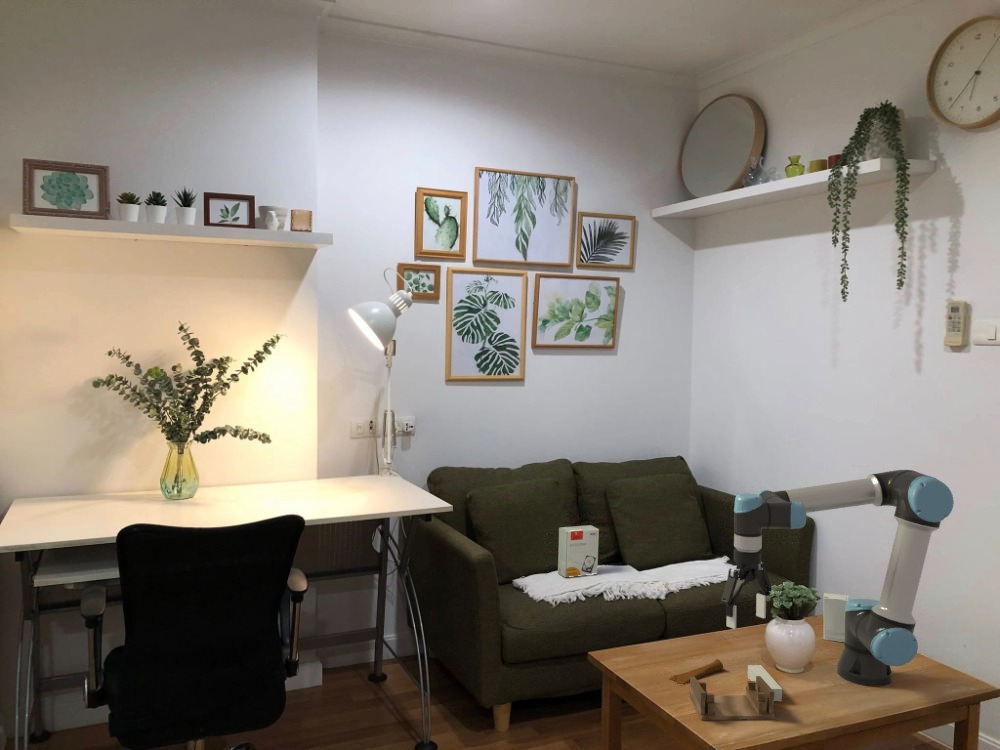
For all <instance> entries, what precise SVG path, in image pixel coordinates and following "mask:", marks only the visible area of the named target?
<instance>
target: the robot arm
mask: <svg viewBox="0 0 1000 750" xmlns="http://www.w3.org/2000/svg"><path fill="white" fill-rule="evenodd" d="M866 505H873V506H875V507H882V506H884V507H885V506H886V507H895V511H894V515H893V517H894V519H895V520H896V522H897V527H896V532H895V536H894V540H893V544H892V548H891V553H890V557H889V561H888V565H887V570H886V573H885V577H884V581H883V586H882V588H881V594H880V597H879V600H877V599H869V598H852V599H849V601H847V603H846V609H845V641H844V642H843V643H844V645H843V649H842V651H841V654H840V656H839V659H838V662H837V664H836V673H837V674H838V675H839V676H840V677H841V678H842V679H844V680H846V681H849V682H851V683H855V684H857V685H863V686H868V687H883V686H888V685H890V684H891V683H892V682H893V672H892V669H891V667H902V666H904V665H905V664H906V665H907V664H909V663H910V662H912V661H913V659H914V658H915V657H916V655H917V652H918V650H919V643H918V640H917V638H916V636H915V634H914V632H915V627H916V624H917V623H916V622H917V621H916V619H915V618H914V616H913V610H914V606H915V601H916V597H917V593H918V589H919V585H920V581H921V577H922V574H923V569H924V564H925V560H926V556H927V552H928V548H929V545H930V540H931V537H932V533H933V532H935V531H938V530H939V529H940V527H941V522H942V521H944V520H945V519H946V518H948V517H949V516H950V515H951V513H952V512H953V508H954V496H953V493H952V491H951V489H950V488H949V486H948V485H947V484H946V483H944V482H943V481H941V480H939V479H938V478H937V477H934V476H931V475H927V474H923V473H921V472H918V471H916V470H912V469H898V470H897V469H896V470H891V471H890V470H889V471H884V472H877V473H872V474H868V475H867V477H866V478H860V479H853V480H848V481H839V482H833V483H825V484H820V485H811V486H806V487H804V486H803V487H799V488H791V489H785V490H778V491H777V490H776V491H771V490H767V489H763V490H759V491H758V492H757V493H749V492H748V493H745V492H744V493H739V494H737V495H736V496H735V499H734V506H733V507H734V508H733V512H734V513H733V514H734V516H733V519H734V520H733V521H734V522H733V523H734V525H733V527H734V529H733V531H734V532H733V533H734V534H733V546H734V549H733V561H734V562H735V564H736V567H735V569H734V568H729V569H728V574H727V579H726V582H725V586H724V589H723V592H722V595H721V599H720V603H721V604H724V605H725V615H726V627H728V628H731V629H733V630H736V629H737V605H735V604H736V602H737V600H738V598H739V597H740V593H741V592H742V590H743V587H744V586H746V584H748V583H749V582H751V583H752V584H753V585H754V587H755V589H756V591H757V592H758V593H756V597H755V598H756V602H755V603H756V604H755V605H756V607H755V610H756V613H755V615H756V617H758V618H761V619H766V616H767V615H766V614H767V608H766V607H767V596H771V592H772V591H773V589H772V586H771V582H770V579H769V576H768V573H767V569H766V562H764V561H762V551H761V550H762V546H763V545H762V542H763V539H762V538H763V537H762V535H763V532H762V531H763V529H773V530H774V529H781V530H782V529H785V530H788V529H789V530H794V529H802V528H804V527H805V526H806V523H807V514H809V513H815V512H822V511H823V512H824V511H829V510H830V511H831V510H838V509H845V508H851V507H858V506H866Z"/></svg>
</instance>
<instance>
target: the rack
mask: <svg viewBox="0 0 1000 750" xmlns="http://www.w3.org/2000/svg"><path fill="white" fill-rule="evenodd" d="M746 683H747V685H746V686H745V695H744V694H743V695H741V694H738V695H715V693H714V692H708V690H707V682H706V681H698V679H696V678H695V677H690V682H689V695H688V701H689V702H691V703H690V704H691V706H692V707H693V709H694V711H695V712H696V714H697V715H698V718H699V719H700V720H701V721H734V720H737V719H739V720H740V721H741V719H747V720H775V719H776V715H775V714H774V710H775V709H774V707H775V705H774V704H775V702H774V691H773V690H772V689H771V688H770V687H769V685H768V684H767V683H766V682H765V681H764V680H763V679H762V677H761V676H756V682H755V681H750V680H747V682H746ZM739 720H738V721H739Z"/></svg>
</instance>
